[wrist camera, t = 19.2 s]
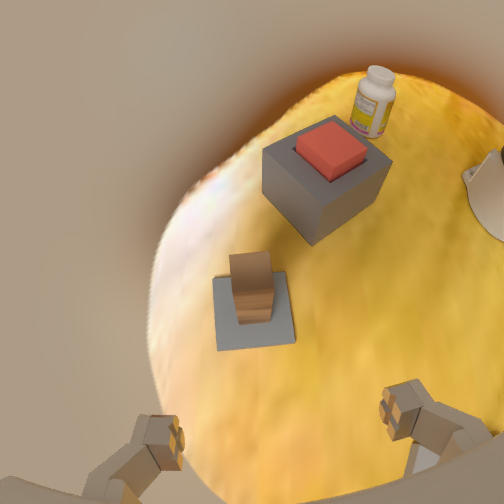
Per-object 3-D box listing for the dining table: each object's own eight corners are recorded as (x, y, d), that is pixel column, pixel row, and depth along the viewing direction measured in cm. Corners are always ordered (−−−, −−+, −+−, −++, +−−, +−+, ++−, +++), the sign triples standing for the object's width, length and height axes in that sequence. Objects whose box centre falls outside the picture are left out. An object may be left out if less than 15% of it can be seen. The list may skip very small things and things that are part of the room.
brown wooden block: (236, 296, 38) (229, 254, 28) (266, 293, 38) (269, 250, 29) (239, 325, 37) (232, 292, 27) (269, 322, 37) (274, 288, 27)
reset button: (326, 147, 42) (332, 120, 38) (358, 174, 40) (367, 148, 36) (294, 164, 41) (297, 137, 36) (326, 195, 38) (333, 168, 34)
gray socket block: (325, 157, 49) (334, 114, 42) (374, 201, 45) (392, 161, 37) (261, 192, 46) (262, 148, 38) (311, 246, 42) (323, 206, 34)
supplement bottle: (377, 119, 55) (394, 66, 43) (386, 141, 52) (406, 85, 40) (345, 115, 55) (358, 59, 44) (352, 138, 52) (368, 79, 40)
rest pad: (213, 280, 40) (212, 278, 39) (284, 273, 40) (284, 271, 40) (217, 351, 36) (217, 350, 35) (294, 343, 36) (295, 342, 35)
